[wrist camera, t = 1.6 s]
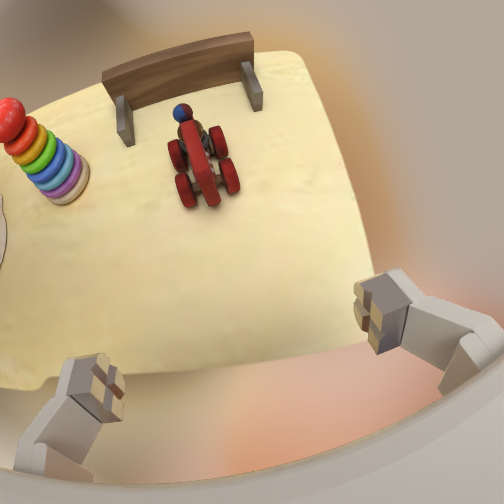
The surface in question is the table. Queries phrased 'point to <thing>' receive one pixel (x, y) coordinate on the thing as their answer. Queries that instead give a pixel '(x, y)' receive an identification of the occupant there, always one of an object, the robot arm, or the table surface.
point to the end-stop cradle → (181, 75)
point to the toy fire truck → (200, 159)
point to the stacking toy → (41, 154)
